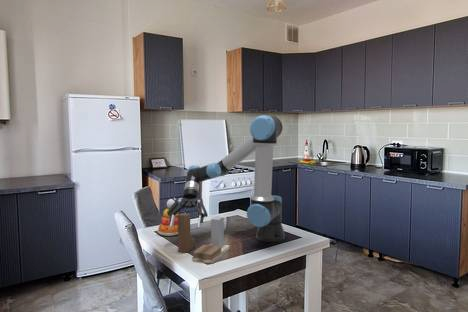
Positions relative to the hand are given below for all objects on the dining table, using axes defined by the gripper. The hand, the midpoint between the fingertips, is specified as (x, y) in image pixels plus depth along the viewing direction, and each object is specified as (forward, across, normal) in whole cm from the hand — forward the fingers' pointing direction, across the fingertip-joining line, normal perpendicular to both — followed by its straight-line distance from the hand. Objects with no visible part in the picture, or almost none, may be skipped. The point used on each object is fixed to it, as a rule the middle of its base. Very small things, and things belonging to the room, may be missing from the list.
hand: (184, 228), depth 170 cm
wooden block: (+8, -1, -7) cm, 11 cm away
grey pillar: (+6, -16, -7) cm, 18 cm away
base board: (+12, -14, -3) cm, 18 cm away
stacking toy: (-10, +14, -25) cm, 31 cm away
